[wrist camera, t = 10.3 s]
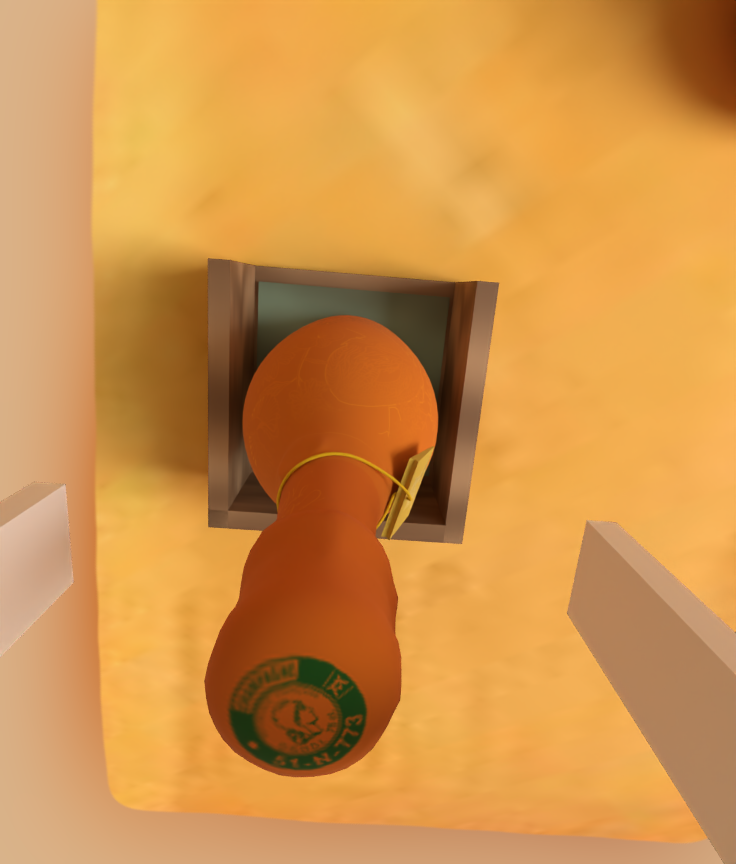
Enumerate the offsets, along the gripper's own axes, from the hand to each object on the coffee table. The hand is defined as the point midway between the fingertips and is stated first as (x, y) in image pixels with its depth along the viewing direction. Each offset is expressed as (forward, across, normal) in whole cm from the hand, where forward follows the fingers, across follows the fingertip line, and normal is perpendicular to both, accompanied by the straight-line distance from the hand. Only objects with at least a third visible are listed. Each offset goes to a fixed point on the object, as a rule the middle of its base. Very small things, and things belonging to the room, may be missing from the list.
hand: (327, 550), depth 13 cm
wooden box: (+26, 0, -1) cm, 26 cm away
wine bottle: (+25, 0, 0) cm, 25 cm away
